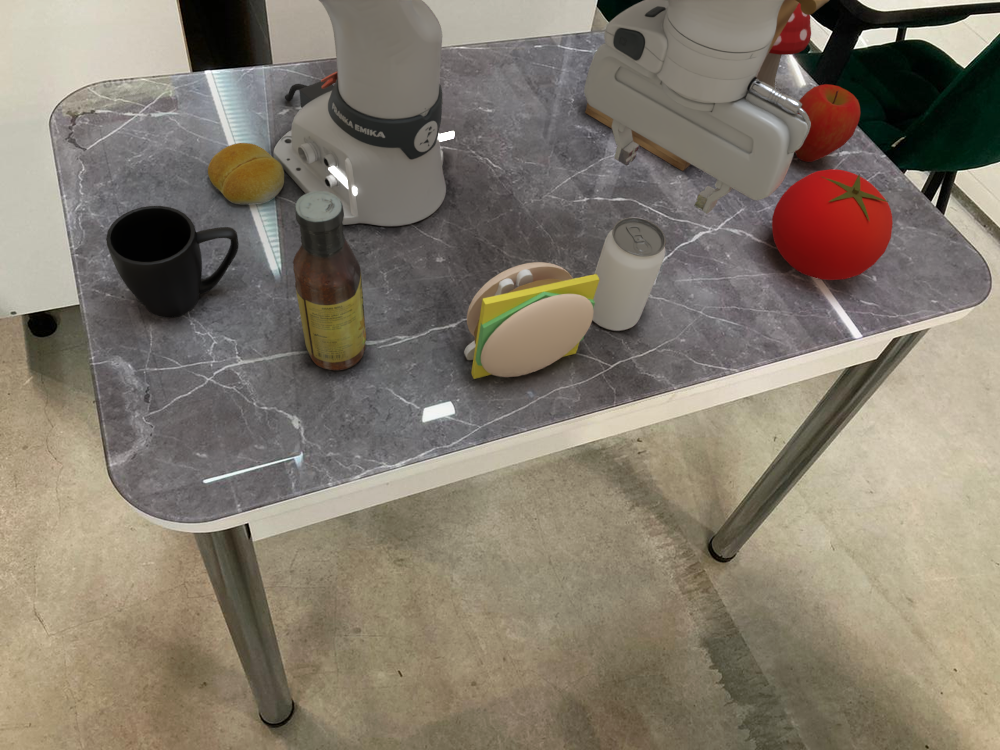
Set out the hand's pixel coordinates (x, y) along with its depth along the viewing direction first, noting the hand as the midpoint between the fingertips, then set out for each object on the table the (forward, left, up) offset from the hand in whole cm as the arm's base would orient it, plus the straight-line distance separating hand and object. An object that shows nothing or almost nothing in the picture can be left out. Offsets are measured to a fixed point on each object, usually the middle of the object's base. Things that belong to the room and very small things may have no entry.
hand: (663, 183), depth 78 cm
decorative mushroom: (-10, +50, -18) cm, 54 cm away
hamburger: (-4, -14, -18) cm, 23 cm away
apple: (+3, +43, -18) cm, 47 cm away
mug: (-34, -33, -18) cm, 51 cm away
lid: (-7, +33, +1) cm, 33 cm away
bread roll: (-44, -17, -18) cm, 51 cm away
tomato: (+13, +25, -18) cm, 33 cm away
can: (0, -1, -18) cm, 18 cm away
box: (-16, +33, -18) cm, 41 cm away
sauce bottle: (-18, -27, -18) cm, 38 cm away
